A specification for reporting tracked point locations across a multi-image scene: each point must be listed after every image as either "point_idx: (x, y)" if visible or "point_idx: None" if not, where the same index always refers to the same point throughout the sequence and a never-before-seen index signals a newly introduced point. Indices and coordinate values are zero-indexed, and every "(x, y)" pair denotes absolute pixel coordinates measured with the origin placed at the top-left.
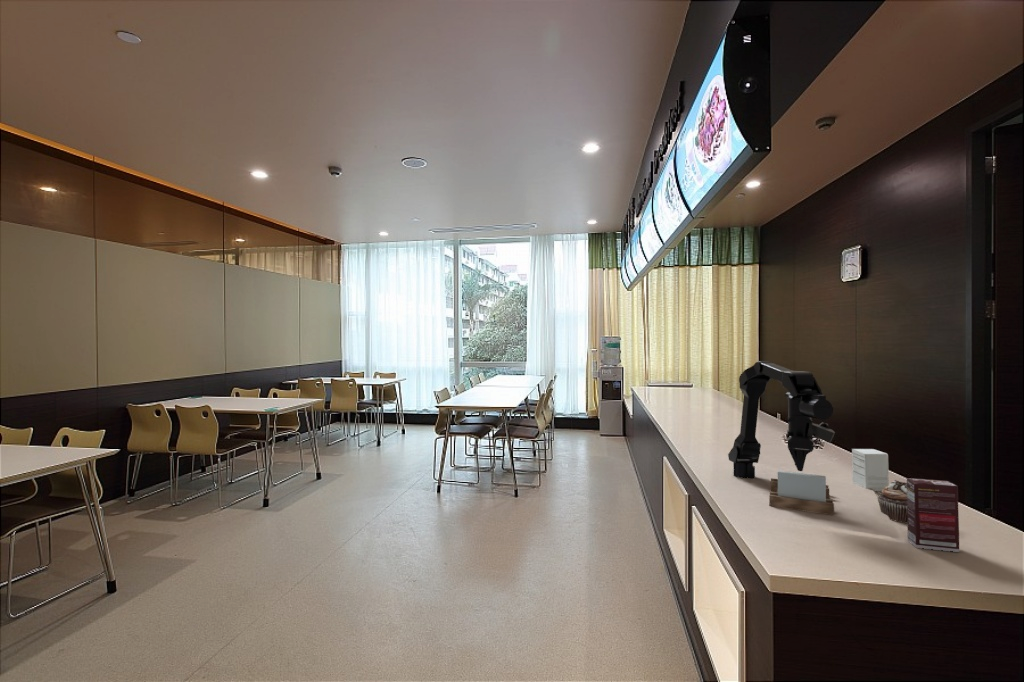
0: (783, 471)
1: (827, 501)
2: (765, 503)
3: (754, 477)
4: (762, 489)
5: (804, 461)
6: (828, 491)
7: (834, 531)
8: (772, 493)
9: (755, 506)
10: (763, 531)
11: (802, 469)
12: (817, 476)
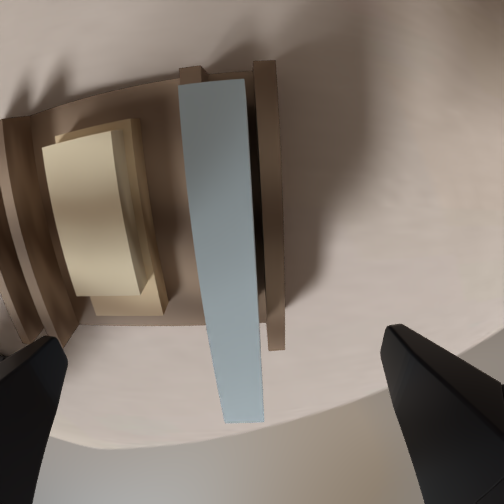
0: (227, 401)
1: None
2: None
3: (2, 360)
4: None
5: (494, 382)
6: (10, 121)
7: (428, 94)
8: None
9: (274, 351)
10: (486, 297)
11: (411, 332)
12: (248, 158)
